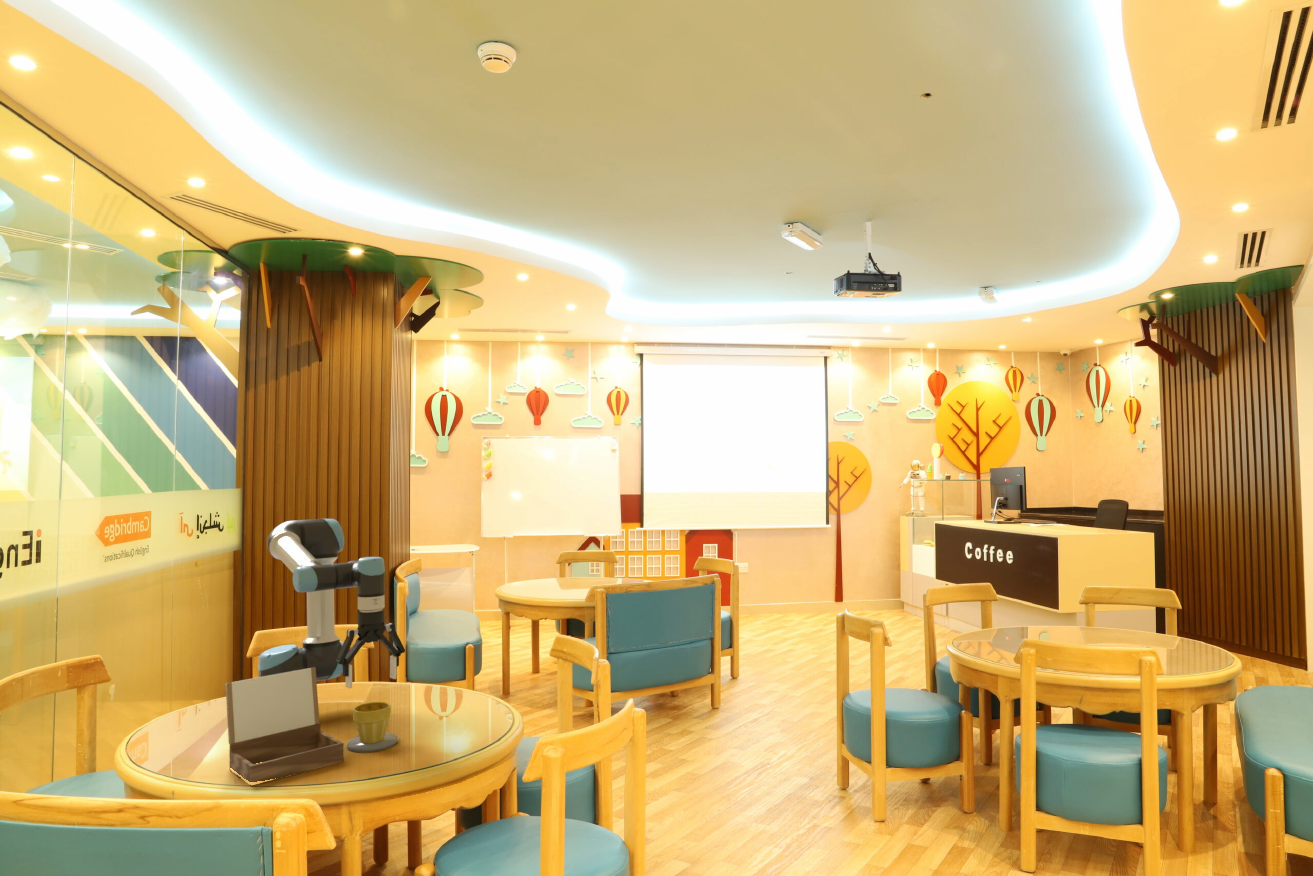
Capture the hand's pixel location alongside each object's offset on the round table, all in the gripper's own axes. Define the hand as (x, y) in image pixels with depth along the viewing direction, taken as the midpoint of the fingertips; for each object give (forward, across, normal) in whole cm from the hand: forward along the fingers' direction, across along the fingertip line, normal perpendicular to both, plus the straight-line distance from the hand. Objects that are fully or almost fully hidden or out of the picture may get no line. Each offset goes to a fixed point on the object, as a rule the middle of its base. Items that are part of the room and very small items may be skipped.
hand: (371, 682), depth 239 cm
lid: (+11, -24, +10) cm, 28 cm away
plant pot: (+17, 0, -1) cm, 17 cm away
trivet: (+18, 0, -1) cm, 18 cm away
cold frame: (+18, -24, 0) cm, 30 cm away
